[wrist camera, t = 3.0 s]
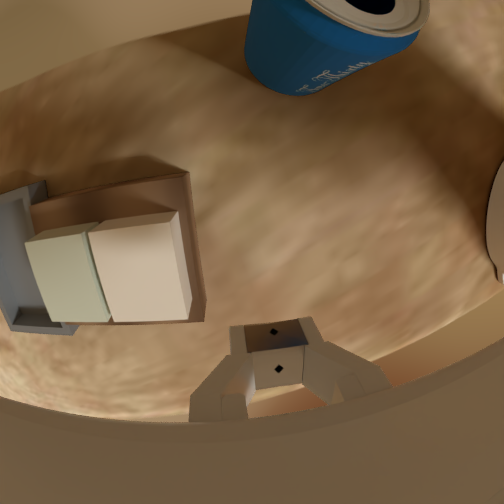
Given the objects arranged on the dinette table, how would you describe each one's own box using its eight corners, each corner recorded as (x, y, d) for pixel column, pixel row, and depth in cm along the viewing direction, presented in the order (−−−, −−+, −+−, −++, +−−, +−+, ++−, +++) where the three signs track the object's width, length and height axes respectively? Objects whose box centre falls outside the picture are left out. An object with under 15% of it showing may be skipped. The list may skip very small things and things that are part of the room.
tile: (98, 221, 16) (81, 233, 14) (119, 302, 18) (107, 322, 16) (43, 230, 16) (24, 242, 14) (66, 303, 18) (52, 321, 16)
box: (45, 179, 17) (27, 185, 15) (83, 319, 22) (72, 335, 20) (-15, 200, 17) (-31, 206, 15) (22, 318, 22) (11, 331, 20)
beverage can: (255, 104, 17) (293, 47, 6) (234, 25, 15) (243, -85, 4) (343, 92, 17) (459, 57, 6) (321, 17, 15) (401, -67, 3)
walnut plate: (189, 172, 18) (182, 177, 16) (206, 299, 22) (204, 321, 19) (49, 197, 18) (28, 206, 15) (79, 306, 22) (65, 324, 19)
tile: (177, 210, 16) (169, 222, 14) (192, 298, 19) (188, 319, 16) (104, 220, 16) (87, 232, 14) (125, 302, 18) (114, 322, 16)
